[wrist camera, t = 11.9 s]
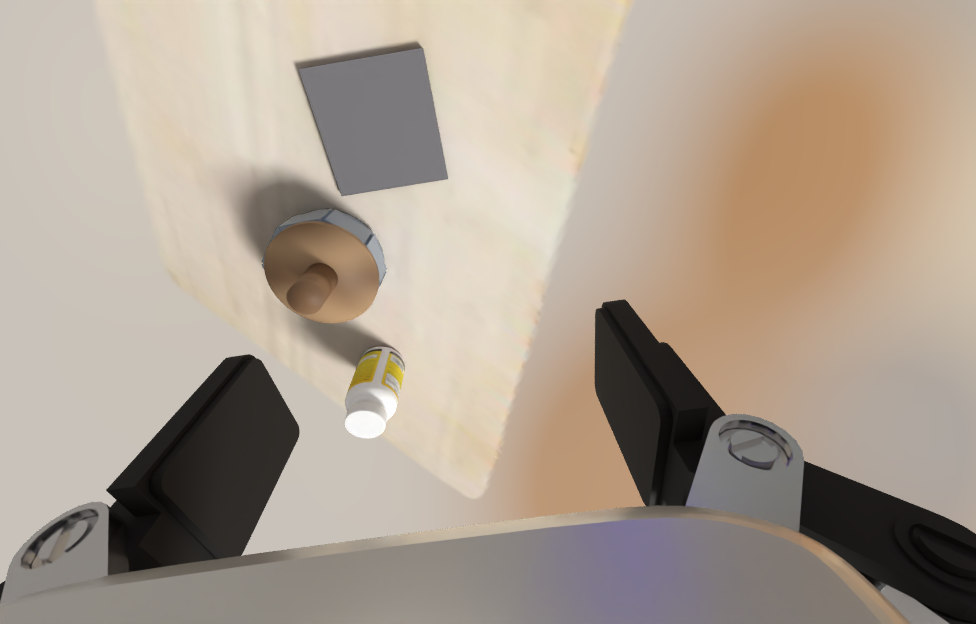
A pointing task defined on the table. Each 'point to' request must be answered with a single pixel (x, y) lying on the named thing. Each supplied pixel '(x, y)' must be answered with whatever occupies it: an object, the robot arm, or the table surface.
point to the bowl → (346, 223)
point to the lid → (321, 272)
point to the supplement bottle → (374, 392)
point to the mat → (377, 121)
